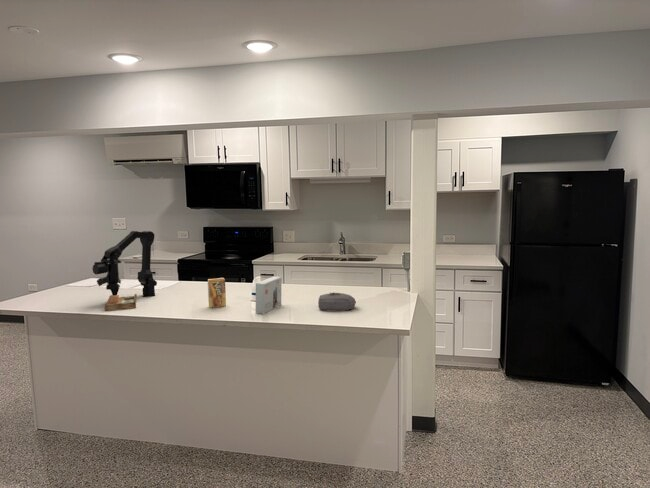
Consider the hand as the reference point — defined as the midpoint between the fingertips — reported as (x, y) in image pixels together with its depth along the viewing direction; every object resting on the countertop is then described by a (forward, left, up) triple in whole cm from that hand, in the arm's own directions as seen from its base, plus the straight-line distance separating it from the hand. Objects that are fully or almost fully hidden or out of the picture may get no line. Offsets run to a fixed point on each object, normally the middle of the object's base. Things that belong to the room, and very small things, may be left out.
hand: (114, 298), depth 258 cm
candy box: (-53, +31, -3) cm, 62 cm away
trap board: (-4, +5, -3) cm, 7 cm away
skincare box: (-78, +49, -3) cm, 92 cm away
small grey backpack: (-112, +62, -3) cm, 128 cm away
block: (0, +4, -1) cm, 4 cm away
